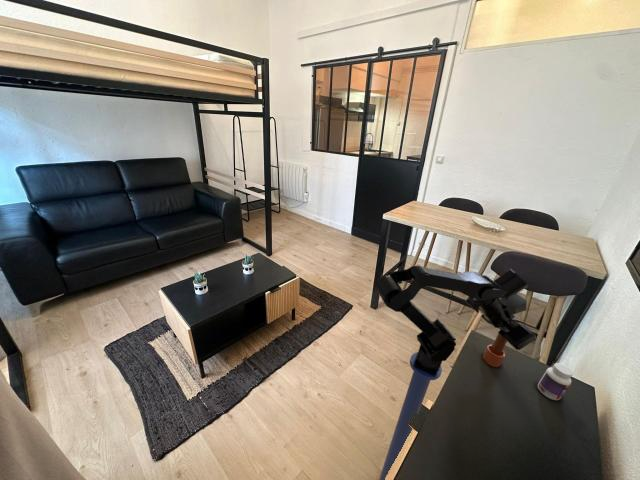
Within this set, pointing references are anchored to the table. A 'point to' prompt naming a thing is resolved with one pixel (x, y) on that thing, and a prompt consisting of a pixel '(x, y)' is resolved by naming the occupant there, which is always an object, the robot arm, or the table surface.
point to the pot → (493, 356)
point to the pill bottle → (555, 381)
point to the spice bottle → (500, 341)
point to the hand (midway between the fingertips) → (508, 332)
